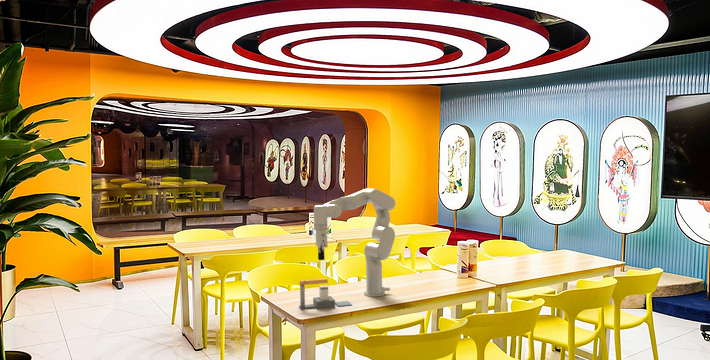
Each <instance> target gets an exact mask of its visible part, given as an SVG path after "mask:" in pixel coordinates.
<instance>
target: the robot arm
mask: <svg viewBox="0 0 710 360" xmlns="http://www.w3.org/2000/svg"><path fill="white" fill-rule="evenodd" d="M367 204H372V207H373V208H374V210H375V213H376V216H375V221H374V224H373V227H372V231H371V237H372V239H373V240H374V241H372V242H368V243H367V244H366V245H365V246H364V250H363V251H364V256H365V267H366V270H365V272H366V273H365V274H366V276H365V277H366V279H365V280H366V290H365V291H364V292H363V295H364V296H366V297H374V298H376V297H377V298H378V297H379V298H380V297H383V296H385V294H386V292H389V291H391V287H390V286H389V287H385V286H383V265H382V263H383V262H382V261H385V260H387V259H388V258H389V256H390V255H391V252H392V249H393V245H394V242H395V238H396V233H395V230H394V227H391V226H390V222H391V214H390V211H391V210H392V211H393V209H394V208H395V206H396V200H395V198H393V196H391V195H389V194H387V193H385V192H383V191H381V190H379V189H378V188H363V189H362V190H361V189H360V190H359V191H357V192H354V193H352V194H349V195H347V196H342V197H340V198H337V199H333V200H331V201H329V202H326V203H324V204H318V205H314V207H313V230H314V231H315V247H317V260H318V261H324V260H325V248H328V232H327V231H328V218H332V219H333V218H336V219H337V218H338V217H340V216H341V214H342V211H351V210H356V209H358V208H360V207H362V206H364V205H367ZM375 241H378V242H375Z"/></svg>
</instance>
